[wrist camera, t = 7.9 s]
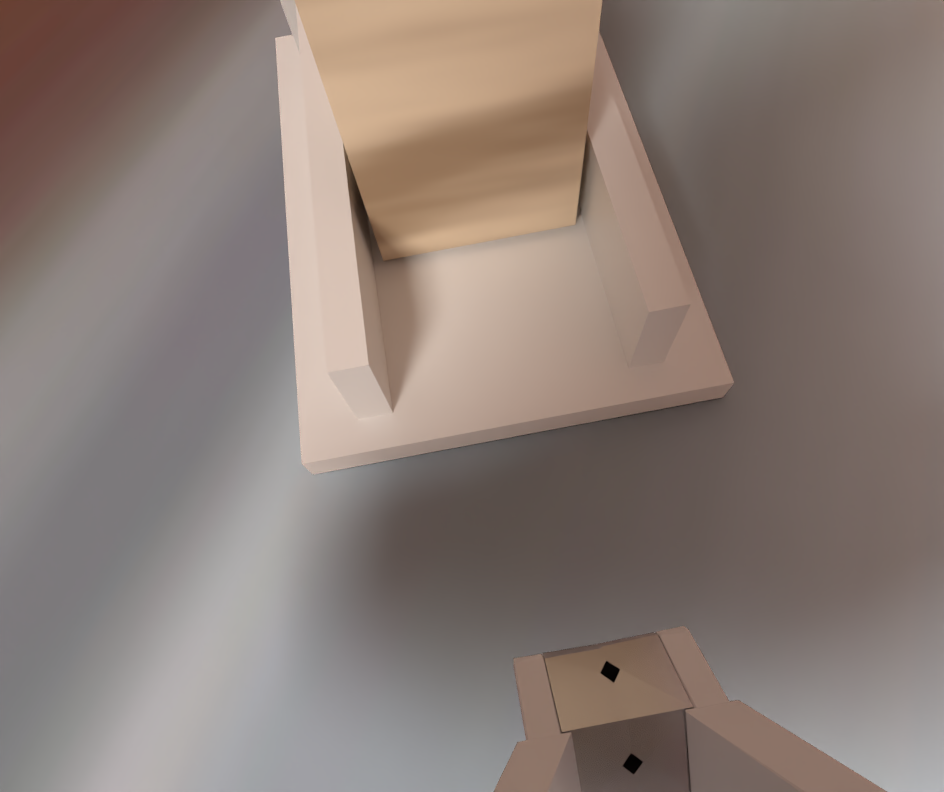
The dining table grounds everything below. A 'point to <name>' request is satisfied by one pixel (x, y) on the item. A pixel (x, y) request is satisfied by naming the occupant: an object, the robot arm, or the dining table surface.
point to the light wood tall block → (458, 112)
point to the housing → (482, 300)
